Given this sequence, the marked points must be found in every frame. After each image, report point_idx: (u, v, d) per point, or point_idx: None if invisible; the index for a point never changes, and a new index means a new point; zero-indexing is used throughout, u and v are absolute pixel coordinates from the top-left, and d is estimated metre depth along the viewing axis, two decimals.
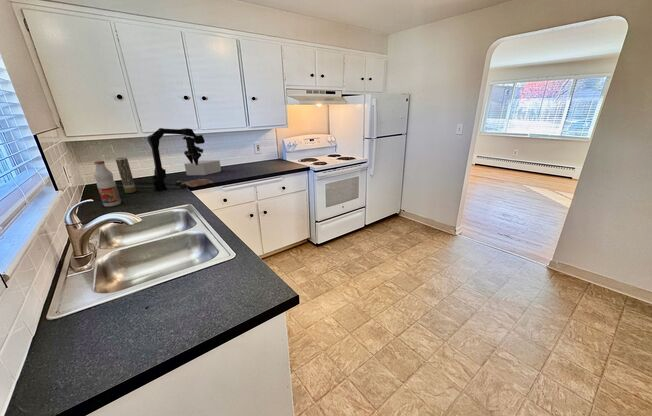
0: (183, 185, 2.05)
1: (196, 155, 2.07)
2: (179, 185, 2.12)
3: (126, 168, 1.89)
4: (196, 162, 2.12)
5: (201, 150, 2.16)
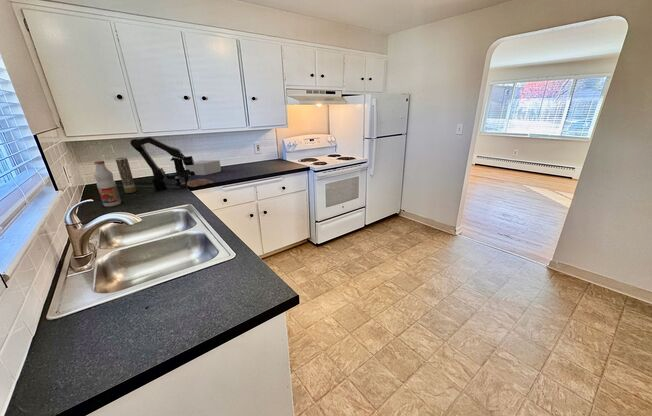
0: (183, 185, 2.05)
1: (167, 177, 1.98)
2: None
3: (126, 168, 1.89)
4: (178, 183, 2.04)
5: (180, 174, 1.97)
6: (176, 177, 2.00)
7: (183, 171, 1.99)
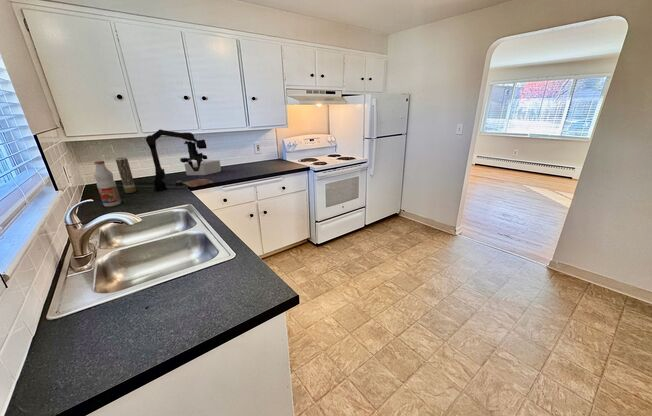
0: (196, 168, 2.09)
1: (181, 160, 2.02)
2: (179, 185, 2.12)
3: (126, 168, 1.89)
4: (191, 167, 2.08)
5: (193, 157, 2.01)
6: (189, 160, 2.04)
7: (196, 154, 2.03)
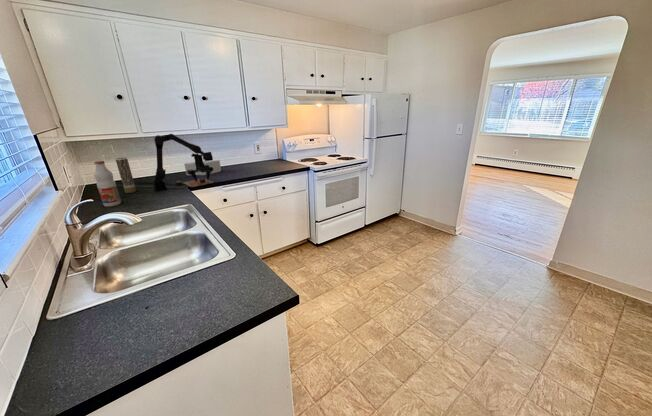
0: (202, 180, 2.15)
1: (188, 172, 2.08)
2: (179, 185, 2.12)
3: (126, 168, 1.89)
4: (195, 179, 2.13)
5: (200, 169, 2.07)
6: None
7: (203, 166, 2.09)
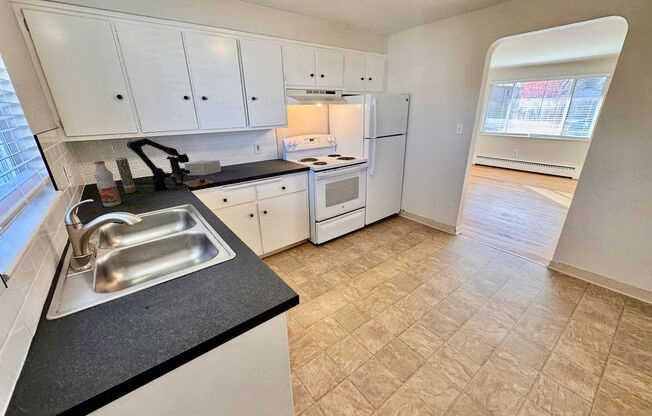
0: (202, 180, 2.15)
1: None
2: (179, 185, 2.12)
3: (126, 168, 1.89)
4: (174, 181, 2.10)
5: (176, 172, 2.03)
6: (172, 175, 2.06)
7: (178, 169, 2.05)
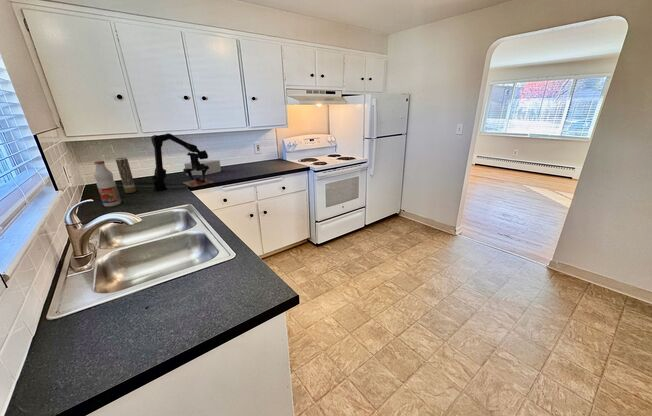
0: (202, 180, 2.15)
1: (184, 171, 2.13)
2: (198, 180, 2.21)
3: (126, 168, 1.89)
4: (190, 177, 2.18)
5: (196, 168, 2.12)
6: None
7: (198, 165, 2.14)
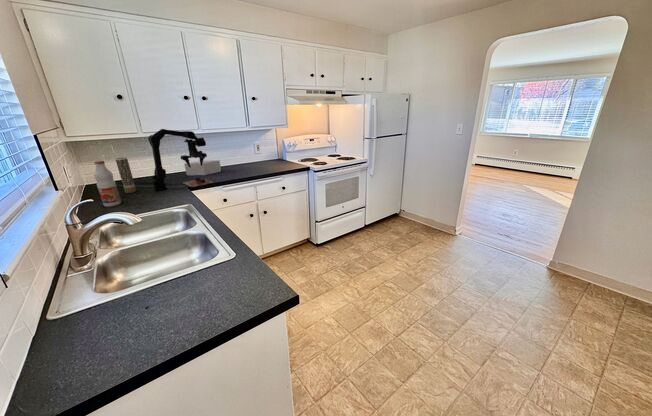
0: (202, 180, 2.15)
1: (181, 158, 2.09)
2: (198, 180, 2.21)
3: (126, 168, 1.89)
4: (188, 165, 2.14)
5: (193, 155, 2.09)
6: None
7: (196, 152, 2.10)
